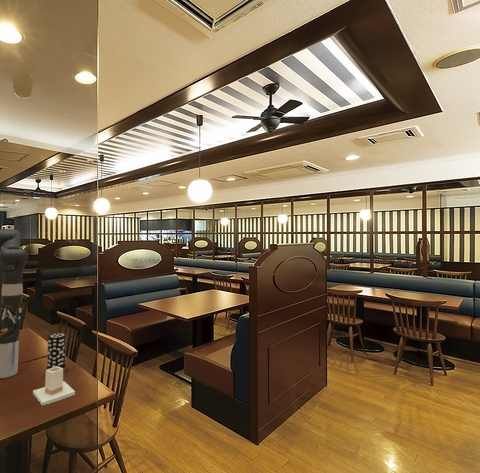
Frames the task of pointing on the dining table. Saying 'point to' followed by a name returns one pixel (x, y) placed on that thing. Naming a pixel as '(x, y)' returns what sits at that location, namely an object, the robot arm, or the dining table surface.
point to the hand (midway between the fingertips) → (10, 329)
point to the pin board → (47, 398)
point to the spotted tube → (56, 351)
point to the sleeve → (54, 380)
